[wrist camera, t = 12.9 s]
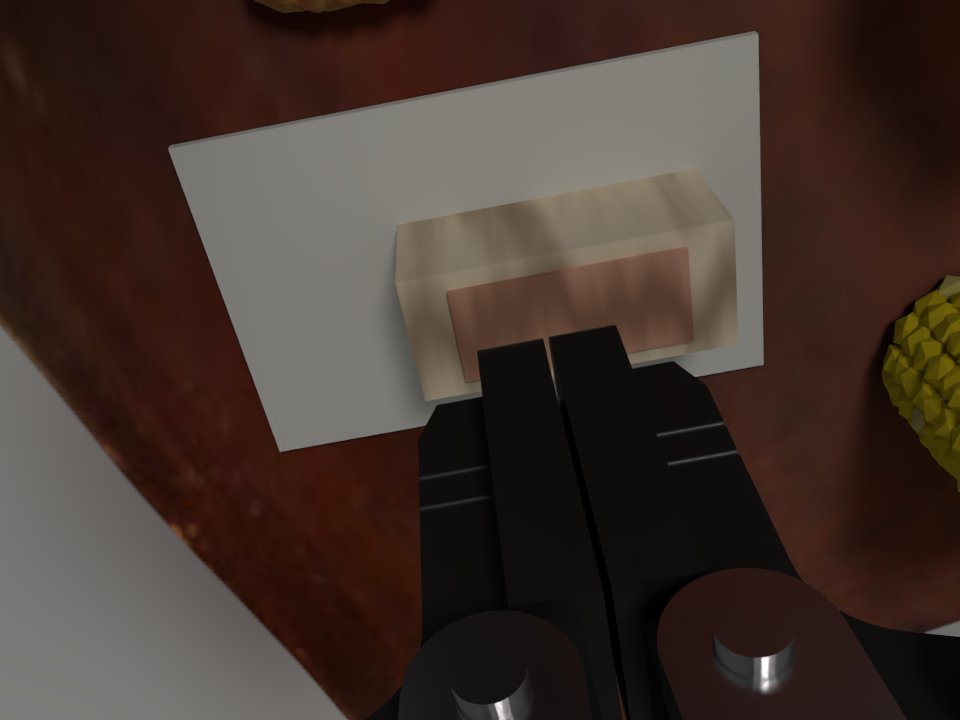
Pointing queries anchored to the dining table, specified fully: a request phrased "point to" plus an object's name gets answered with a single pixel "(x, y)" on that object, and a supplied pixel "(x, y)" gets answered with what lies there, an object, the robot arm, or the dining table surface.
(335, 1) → the pastry
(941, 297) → the food
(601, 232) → the maple block
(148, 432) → the dining table surface
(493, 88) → the grey mat
